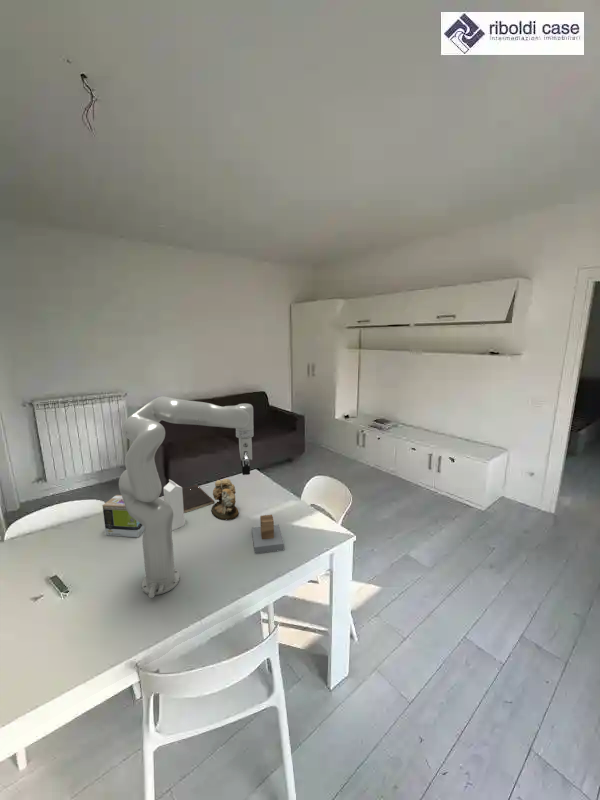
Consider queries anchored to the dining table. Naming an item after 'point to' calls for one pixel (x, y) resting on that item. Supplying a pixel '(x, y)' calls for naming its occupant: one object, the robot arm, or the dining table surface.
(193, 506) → the hardcover book
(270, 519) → the walnut block
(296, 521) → the dining table surface
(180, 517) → the milk
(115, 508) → the tea box
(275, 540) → the slate platform
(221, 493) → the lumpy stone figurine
